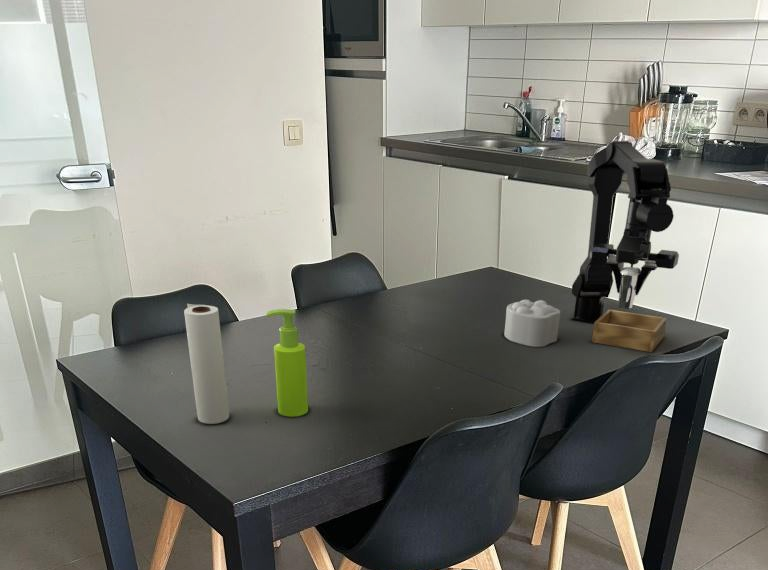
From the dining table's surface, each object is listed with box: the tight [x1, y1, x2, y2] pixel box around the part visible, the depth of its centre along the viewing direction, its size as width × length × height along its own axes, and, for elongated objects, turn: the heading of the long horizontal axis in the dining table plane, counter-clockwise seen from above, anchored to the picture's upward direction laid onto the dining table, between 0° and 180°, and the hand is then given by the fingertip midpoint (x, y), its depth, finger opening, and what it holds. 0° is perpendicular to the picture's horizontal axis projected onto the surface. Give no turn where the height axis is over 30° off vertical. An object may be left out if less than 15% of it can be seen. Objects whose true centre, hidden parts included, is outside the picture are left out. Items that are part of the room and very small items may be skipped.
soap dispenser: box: [265, 308, 309, 418], centre depth 147 cm, size 6×7×20 cm
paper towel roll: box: [183, 303, 230, 425], centre depth 144 cm, size 7×6×21 cm
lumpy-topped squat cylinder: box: [503, 299, 561, 348], centre depth 190 cm, size 10×13×9 cm
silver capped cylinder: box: [617, 264, 641, 310], centre depth 178 cm, size 4×5×10 cm
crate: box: [591, 309, 668, 353], centre depth 190 cm, size 15×13×5 cm
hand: (627, 293), depth 179 cm, fingers closed on silver capped cylinder, 4 cm apart
